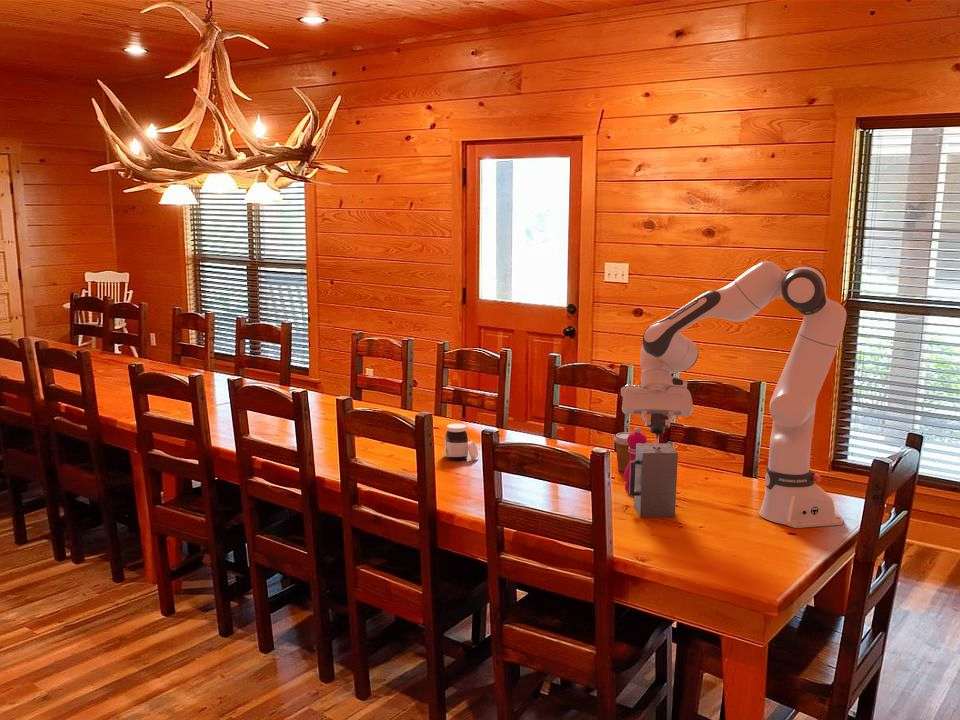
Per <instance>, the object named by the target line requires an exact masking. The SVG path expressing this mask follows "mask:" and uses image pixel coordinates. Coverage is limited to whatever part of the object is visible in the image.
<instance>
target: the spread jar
mask: <svg viewBox="0 0 960 720" xmlns="http://www.w3.org/2000/svg"><path fill="white" fill-rule="evenodd" d="M444 452H445V453H444V454H445V458H446V460H448V461H454V462H456V461H457V462H459V461H464V460H467V458H468V456H470V459H471V460H472V461H477V460H478V459H479V451H478V447H477V445H476V443H475V441H474V440H471V441H469V436H468V433H467V425H466V424H463V423H450V424H447V425H446V432H445V434H444Z"/></svg>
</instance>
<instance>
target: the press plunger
mask: <svg viewBox="0 0 960 720" xmlns="http://www.w3.org/2000/svg"><path fill="white" fill-rule="evenodd" d="M650 419H651V427H649V428H650V429H649V430H650V434H651V433H652V434H655V436H654V437H655V438H654V439H655V441H654V443H655V449H658V448H659V443H660V441H659V440H660V435H662V434H665V431H666V430H665V429H666V428H665V420H666V415H664V414H651V415H650Z"/></svg>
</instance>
